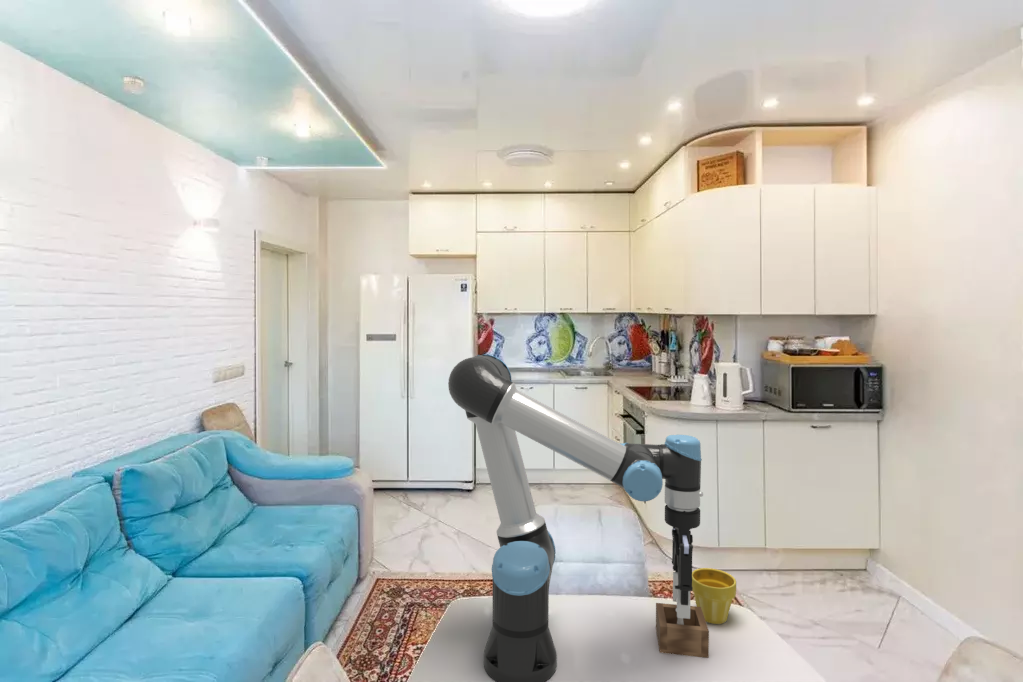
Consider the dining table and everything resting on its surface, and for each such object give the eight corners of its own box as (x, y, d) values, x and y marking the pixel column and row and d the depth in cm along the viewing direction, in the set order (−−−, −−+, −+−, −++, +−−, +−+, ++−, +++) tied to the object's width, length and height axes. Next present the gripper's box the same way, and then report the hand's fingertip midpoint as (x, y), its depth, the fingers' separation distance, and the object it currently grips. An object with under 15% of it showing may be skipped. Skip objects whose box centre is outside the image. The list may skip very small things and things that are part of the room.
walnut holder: (659, 653, 116) (660, 626, 116) (655, 628, 126) (655, 602, 125) (708, 658, 114) (708, 631, 114) (700, 632, 124) (700, 606, 124)
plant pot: (740, 631, 124) (740, 589, 124) (693, 626, 126) (693, 585, 126) (731, 608, 134) (731, 569, 134) (687, 604, 136) (688, 565, 136)
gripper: (708, 522, 109) (706, 635, 109) (693, 493, 128) (691, 589, 128) (669, 520, 110) (668, 631, 111) (660, 492, 129) (659, 587, 130)
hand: (681, 608), depth 120 cm, fingers open, 6 cm apart
